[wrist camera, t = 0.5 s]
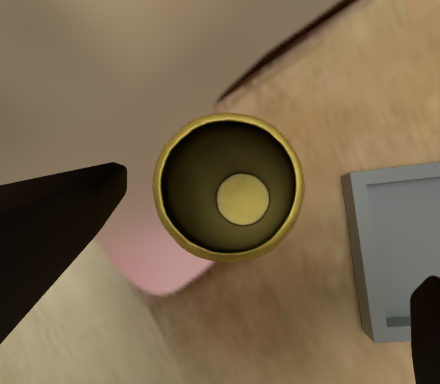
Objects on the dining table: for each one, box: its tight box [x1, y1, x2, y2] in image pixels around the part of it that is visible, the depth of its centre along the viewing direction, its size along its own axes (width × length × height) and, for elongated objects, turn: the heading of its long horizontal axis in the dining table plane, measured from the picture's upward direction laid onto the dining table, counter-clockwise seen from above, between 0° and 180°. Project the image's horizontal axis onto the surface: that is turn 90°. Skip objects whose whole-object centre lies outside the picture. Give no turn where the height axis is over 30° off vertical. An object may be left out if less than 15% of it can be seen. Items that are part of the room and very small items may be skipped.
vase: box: [153, 113, 305, 263], centre depth 17 cm, size 6×6×14 cm
